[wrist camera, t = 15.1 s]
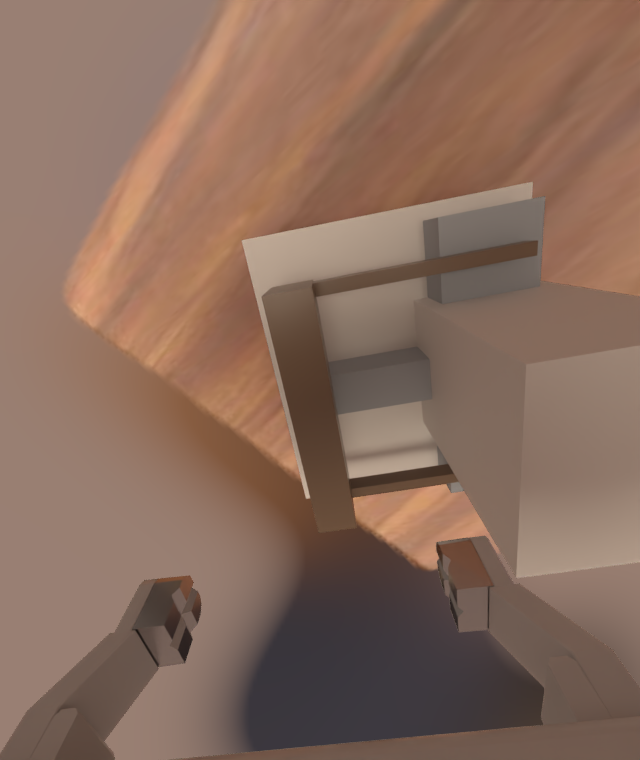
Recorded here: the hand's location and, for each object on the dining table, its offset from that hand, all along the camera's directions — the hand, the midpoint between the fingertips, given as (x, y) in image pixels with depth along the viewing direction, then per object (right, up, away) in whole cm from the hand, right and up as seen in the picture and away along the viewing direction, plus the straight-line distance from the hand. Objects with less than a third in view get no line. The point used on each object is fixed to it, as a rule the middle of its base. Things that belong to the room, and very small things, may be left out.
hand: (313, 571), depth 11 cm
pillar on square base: (+6, +10, +22) cm, 25 cm away
